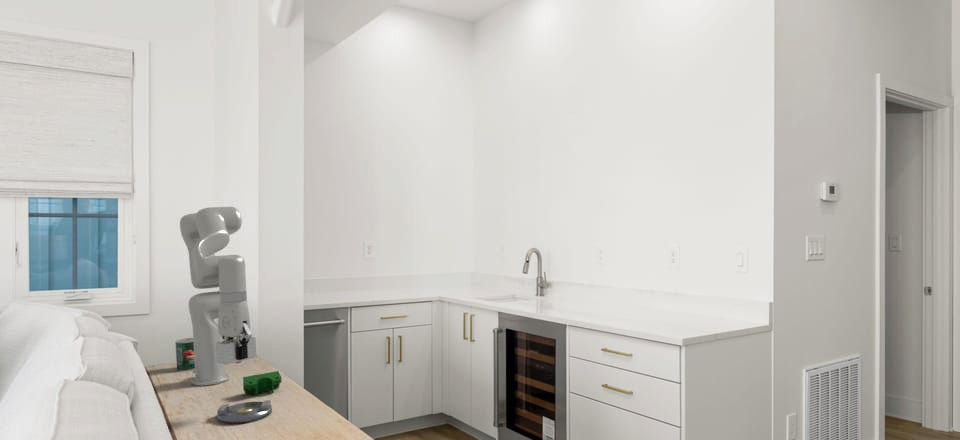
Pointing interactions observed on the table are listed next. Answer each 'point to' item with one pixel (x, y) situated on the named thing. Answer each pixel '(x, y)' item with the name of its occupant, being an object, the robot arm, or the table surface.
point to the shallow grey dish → (244, 412)
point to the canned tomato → (185, 354)
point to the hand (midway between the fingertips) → (236, 357)
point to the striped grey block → (233, 351)
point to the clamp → (261, 383)
